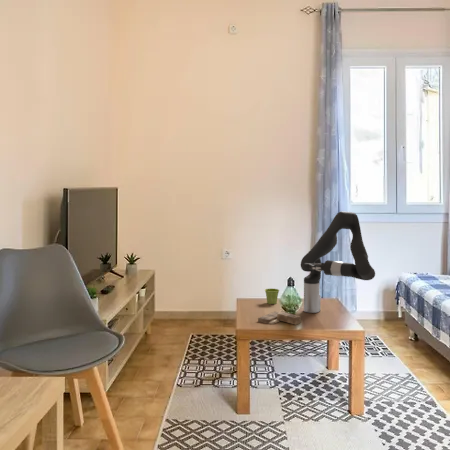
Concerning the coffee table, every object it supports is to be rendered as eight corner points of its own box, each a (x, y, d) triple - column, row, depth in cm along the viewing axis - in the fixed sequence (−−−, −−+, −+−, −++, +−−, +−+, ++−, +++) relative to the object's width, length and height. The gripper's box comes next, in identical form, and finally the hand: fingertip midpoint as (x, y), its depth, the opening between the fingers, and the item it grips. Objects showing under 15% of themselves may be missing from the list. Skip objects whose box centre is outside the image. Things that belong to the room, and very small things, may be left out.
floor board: (275, 314, 274) (275, 311, 274) (289, 317, 269) (289, 313, 269) (257, 321, 260) (257, 317, 260) (272, 324, 254) (272, 320, 254)
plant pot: (282, 303, 304) (282, 289, 303) (272, 305, 297) (272, 292, 297) (271, 301, 311) (271, 287, 310) (261, 303, 304) (261, 290, 303)
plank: (300, 316, 257) (281, 311, 264) (296, 318, 253) (277, 313, 260) (300, 322, 257) (281, 317, 265) (295, 324, 253) (276, 319, 261)
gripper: (340, 259, 246) (310, 257, 257) (329, 262, 236) (298, 259, 247) (339, 273, 247) (310, 270, 258) (328, 277, 237) (298, 274, 247)
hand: (304, 265), depth 252 cm, fingers closed
